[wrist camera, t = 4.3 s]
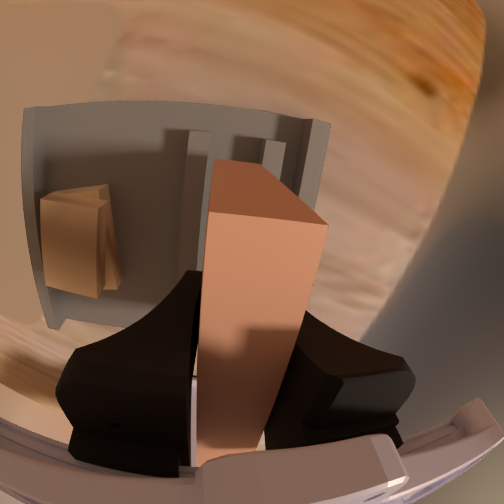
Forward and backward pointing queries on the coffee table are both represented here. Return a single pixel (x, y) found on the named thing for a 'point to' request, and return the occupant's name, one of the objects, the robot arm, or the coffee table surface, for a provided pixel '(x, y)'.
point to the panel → (250, 302)
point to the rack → (152, 185)
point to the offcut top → (74, 242)
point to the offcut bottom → (112, 254)
